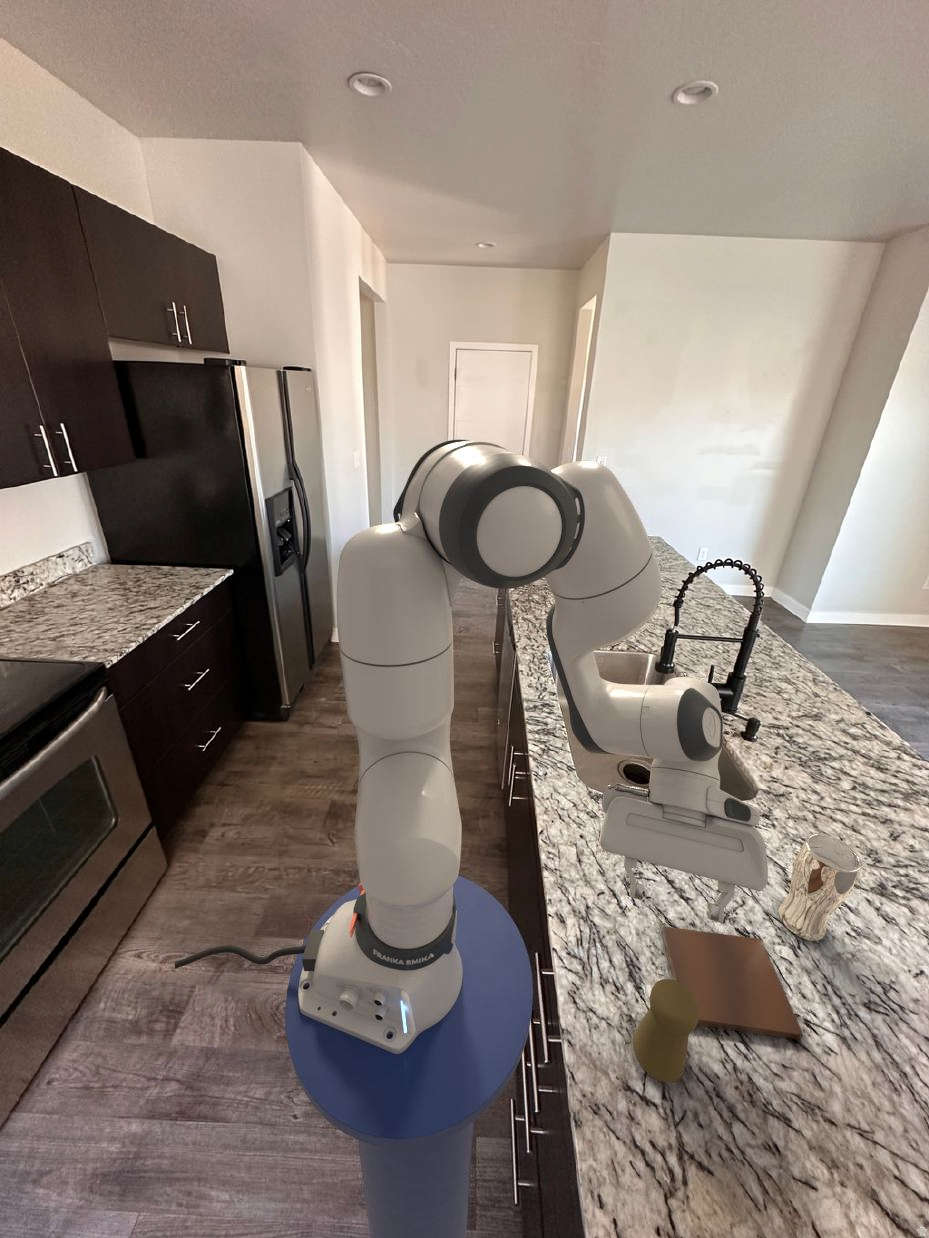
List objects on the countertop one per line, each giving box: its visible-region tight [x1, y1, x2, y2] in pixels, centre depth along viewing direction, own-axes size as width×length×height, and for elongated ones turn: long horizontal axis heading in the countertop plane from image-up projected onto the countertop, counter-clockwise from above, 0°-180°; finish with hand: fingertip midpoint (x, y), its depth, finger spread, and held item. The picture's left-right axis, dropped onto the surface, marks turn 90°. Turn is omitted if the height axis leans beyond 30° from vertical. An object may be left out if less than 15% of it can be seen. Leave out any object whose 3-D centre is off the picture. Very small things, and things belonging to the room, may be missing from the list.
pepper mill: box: [632, 978, 699, 1084], centre depth 57 cm, size 6×6×11 cm
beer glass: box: [778, 832, 863, 942], centre depth 72 cm, size 7×7×15 cm
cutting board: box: [660, 925, 804, 1041], centre depth 67 cm, size 14×12×1 cm
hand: (674, 909), depth 62 cm, fingers open, 8 cm apart
